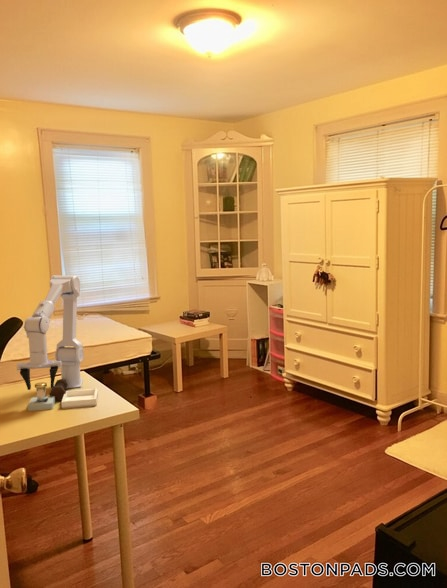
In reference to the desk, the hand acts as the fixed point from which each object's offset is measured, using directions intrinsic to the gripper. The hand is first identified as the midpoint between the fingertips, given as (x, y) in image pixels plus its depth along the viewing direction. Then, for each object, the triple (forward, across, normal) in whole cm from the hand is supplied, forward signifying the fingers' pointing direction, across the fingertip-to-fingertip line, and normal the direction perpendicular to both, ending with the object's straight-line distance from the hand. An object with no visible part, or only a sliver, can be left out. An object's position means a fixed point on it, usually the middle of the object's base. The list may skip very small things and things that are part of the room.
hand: (40, 388), depth 171 cm
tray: (+6, +13, +1) cm, 15 cm away
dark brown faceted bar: (+6, +5, +11) cm, 14 cm away
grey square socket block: (+6, 0, 0) cm, 7 cm away
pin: (+6, 0, 0) cm, 7 cm away
